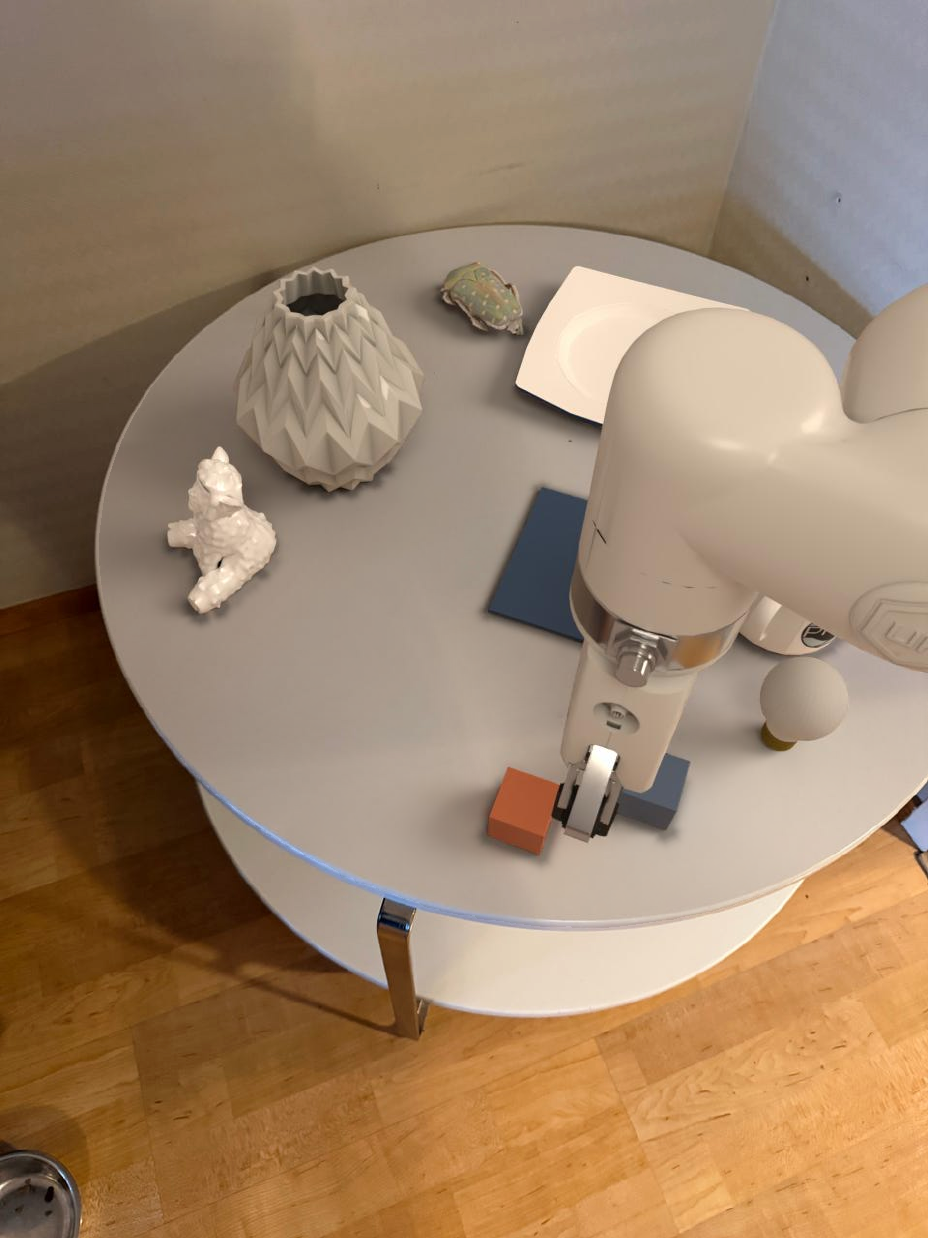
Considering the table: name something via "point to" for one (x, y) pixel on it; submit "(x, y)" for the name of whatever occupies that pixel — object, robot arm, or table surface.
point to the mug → (782, 629)
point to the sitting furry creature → (222, 533)
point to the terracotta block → (523, 810)
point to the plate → (593, 338)
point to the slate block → (657, 795)
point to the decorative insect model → (484, 297)
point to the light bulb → (801, 702)
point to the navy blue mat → (544, 566)
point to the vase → (327, 383)
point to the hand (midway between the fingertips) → (604, 747)
